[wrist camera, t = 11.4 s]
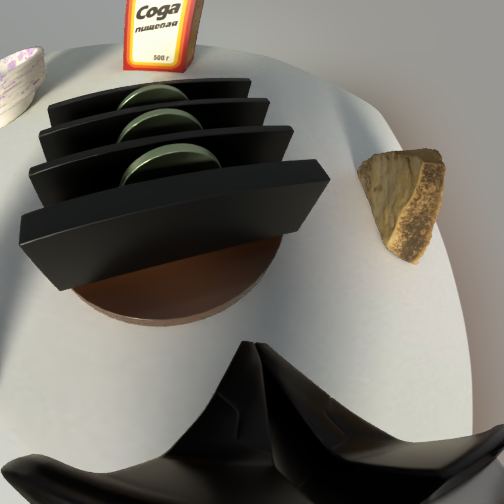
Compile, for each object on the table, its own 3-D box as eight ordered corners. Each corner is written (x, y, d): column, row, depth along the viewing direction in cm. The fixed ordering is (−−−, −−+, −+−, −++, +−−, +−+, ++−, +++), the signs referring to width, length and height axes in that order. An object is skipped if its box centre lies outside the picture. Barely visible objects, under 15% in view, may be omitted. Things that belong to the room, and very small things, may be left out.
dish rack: (292, 239, 18) (336, 171, 13) (66, 298, 13) (11, 237, 7) (233, 134, 23) (249, 70, 17) (65, 164, 17) (47, 97, 12)
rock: (342, 140, 26) (340, 188, 19) (414, 114, 21) (444, 154, 14) (378, 216, 31) (382, 278, 24) (440, 197, 26) (462, 258, 19)
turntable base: (228, 375, 15) (232, 373, 13) (14, 251, 14) (5, 241, 13) (300, 178, 24) (306, 166, 23) (137, 117, 24) (137, 106, 23)
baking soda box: (123, 70, 29) (130, -25, 16) (138, 56, 33) (147, -27, 19) (183, 72, 31) (202, -27, 18) (193, 59, 34) (210, -27, 21)
